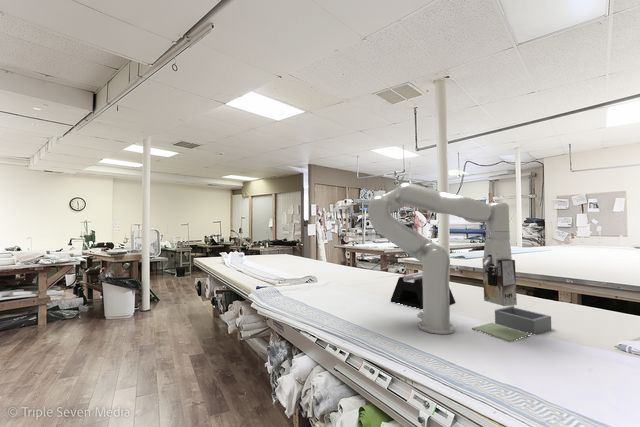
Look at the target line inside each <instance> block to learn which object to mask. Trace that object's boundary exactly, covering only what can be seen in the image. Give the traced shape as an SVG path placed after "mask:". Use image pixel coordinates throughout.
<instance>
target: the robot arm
mask: <svg viewBox="0 0 640 427" xmlns="http://www.w3.org/2000/svg"><path fill="white" fill-rule="evenodd" d="M406 206H411V207H415V208H418V209H421V210H424V211H426V212H427V211H428V212H432V213H435V214H442V215H444V214H445V215H450V216H455V217H458V218H462V219H464V220H465V221H466V222H468V223H473V224H475V223H476V224H477V223H479V224H480V223H485V237H486V238H485V242H484V246H483V247H484V248H483V258H484V264H483V263H482V267H483V266H484V268H485V270H486V272H487V274H488V285H491V286H497V275H496V271H497V269H496V268H497V267H498V260H505V259H511V260H513V259H512V248H511V242H510V241H511V238H510V237H511V235H510V208H509V204H508V203H507V202H490V203H485V202H484V201H481V200H479V199H474V198H471V197H466V196H463V195H458V194H454V193H450V192H446V191H443V190H442V191H441V190H438V189H433V188H430V187H427V186H423V185H421V184H420V185H419V184H415V183H412V182H403V183H400V184H398V186H397V187H396V188H394V189H393V190H390V191H389V192H386V193H384V194H377V195H374V196H373V197H371V199H370V200H369V202H368V208H367V216H368V220H369V222H370V225H371V227H373V229H374V230H375V231H376V232H377V233H378V234H380V235H381V236H382V237H384V238H385V239H387V240H388V241H389V242H390V243H392V244H394V245H395V246H396V247H398V248H399V249H400V250H401V251H402V252H404V253H406V254H408V255H410V256H411V257H413V258H414V259H416V260H418V262H420V263H422V272H423V274H422V285H423V310H422V311H419V312H418V314H417V315H416V317H417V318H419V319H421V321H420V322H419V324H418V327H419V329H420V330H421V331H425V332H426V333H431V334H436V335H447V334H452V333H454V332H455V326H454V325H453V324H451V317H450V316H451V313H450V309H451V308H450V307H451V306H450V304H449V287H450V270H451V269H450V268H451V267H450V265H451V261H450V260H451V258H450V255H449V253H448V251H447V250H446V249H445V248H444V247H442V246H440V245H438V244H436V243H434V242H433V241H431V240H429V239H428V238H427V237H425V236H423V235H422V234H420V233H419V231H417V230H415V229H413V228H410V227H409V226H407V225H405V224H404V223H403V222H401V221H399V220H398V219H396V218H395V217H394V216H393V215H392V214H391V213H393V212H396V211H398V210H400V209H402V208H405V207H406ZM491 264H494V266H491ZM491 268H494V269H493V270H492V269H491Z"/></svg>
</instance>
